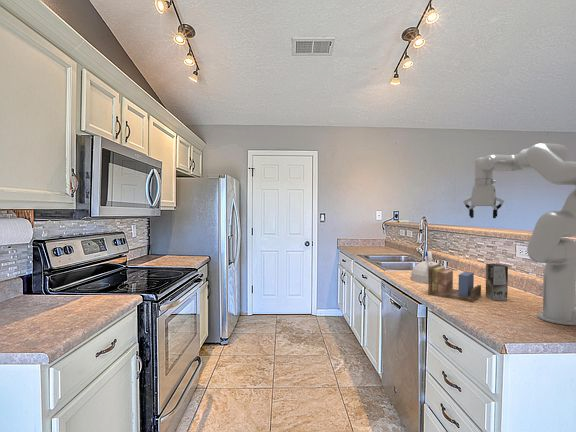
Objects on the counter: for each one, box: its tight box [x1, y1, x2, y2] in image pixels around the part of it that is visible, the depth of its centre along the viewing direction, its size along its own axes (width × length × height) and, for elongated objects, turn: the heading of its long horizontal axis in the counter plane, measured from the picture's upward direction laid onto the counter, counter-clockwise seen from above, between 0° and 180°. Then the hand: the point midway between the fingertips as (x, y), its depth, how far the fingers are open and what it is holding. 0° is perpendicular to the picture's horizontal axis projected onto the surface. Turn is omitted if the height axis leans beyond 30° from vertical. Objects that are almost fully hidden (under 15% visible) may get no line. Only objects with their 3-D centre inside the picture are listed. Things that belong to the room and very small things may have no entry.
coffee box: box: [485, 263, 509, 302], centre depth 154 cm, size 9×6×16 cm
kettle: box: [410, 250, 439, 285], centre depth 193 cm, size 20×21×18 cm
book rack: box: [427, 263, 482, 303], centre depth 158 cm, size 20×14×14 cm
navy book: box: [457, 271, 475, 297], centre depth 154 cm, size 4×10×10 cm, turn 137°
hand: (482, 217), depth 157 cm, fingers open, 9 cm apart
